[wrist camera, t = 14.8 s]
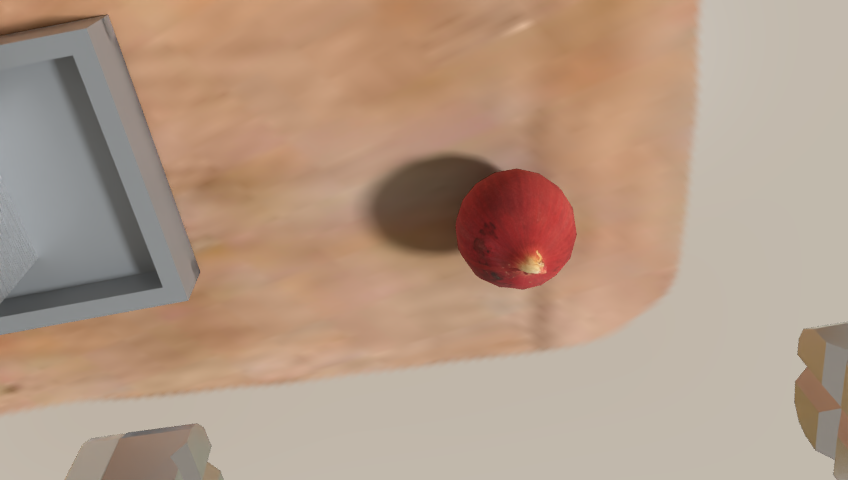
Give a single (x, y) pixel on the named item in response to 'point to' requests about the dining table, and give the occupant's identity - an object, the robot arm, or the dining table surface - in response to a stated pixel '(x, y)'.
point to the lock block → (12, 245)
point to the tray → (85, 181)
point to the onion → (515, 229)
